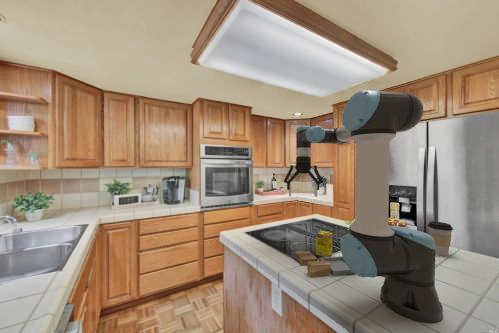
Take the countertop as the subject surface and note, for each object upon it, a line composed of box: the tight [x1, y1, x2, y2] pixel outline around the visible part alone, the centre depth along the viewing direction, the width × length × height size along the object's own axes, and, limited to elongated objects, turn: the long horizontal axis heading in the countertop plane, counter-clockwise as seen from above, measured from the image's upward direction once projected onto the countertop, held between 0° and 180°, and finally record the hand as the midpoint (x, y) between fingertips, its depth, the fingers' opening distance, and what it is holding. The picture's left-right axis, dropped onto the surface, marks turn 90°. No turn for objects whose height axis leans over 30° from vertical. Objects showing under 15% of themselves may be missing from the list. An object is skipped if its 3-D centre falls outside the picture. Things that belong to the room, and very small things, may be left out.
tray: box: [318, 255, 356, 277], centre depth 88 cm, size 12×12×2 cm
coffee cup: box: [427, 221, 454, 257], centre depth 103 cm, size 9×9×15 cm
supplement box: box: [315, 230, 333, 258], centre depth 100 cm, size 6×6×11 cm
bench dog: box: [307, 260, 331, 278], centre depth 82 cm, size 3×8×4 cm, turn 99°
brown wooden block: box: [294, 250, 318, 266], centre depth 94 cm, size 8×7×3 cm
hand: (302, 196), depth 111 cm, fingers open, 13 cm apart
